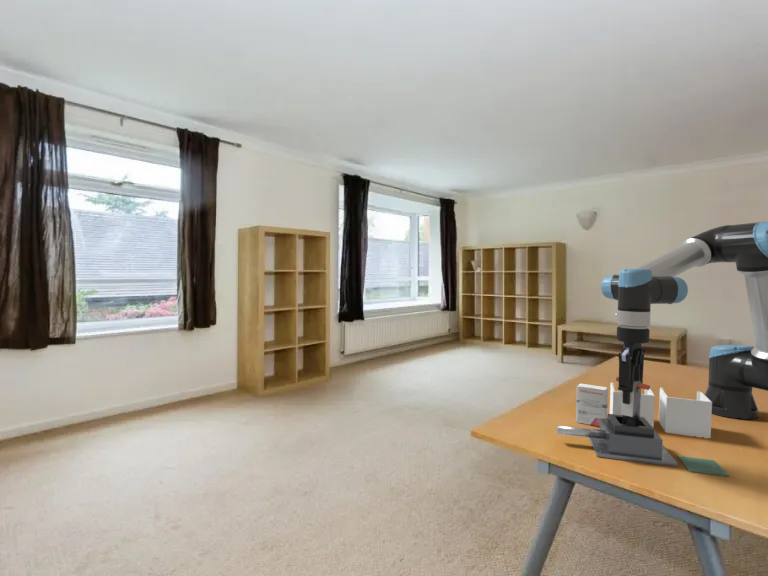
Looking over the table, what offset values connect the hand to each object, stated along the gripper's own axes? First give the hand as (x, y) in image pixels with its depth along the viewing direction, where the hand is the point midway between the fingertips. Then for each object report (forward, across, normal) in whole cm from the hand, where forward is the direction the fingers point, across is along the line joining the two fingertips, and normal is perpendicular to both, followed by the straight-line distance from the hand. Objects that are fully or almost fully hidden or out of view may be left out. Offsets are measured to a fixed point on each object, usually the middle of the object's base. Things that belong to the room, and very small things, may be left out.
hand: (629, 413), depth 113 cm
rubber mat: (+10, -3, +16) cm, 19 cm away
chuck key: (+4, 0, 0) cm, 4 cm away
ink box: (+10, -13, -15) cm, 23 cm away
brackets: (+11, -26, 0) cm, 29 cm away
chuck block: (+10, +2, -4) cm, 11 cm away
